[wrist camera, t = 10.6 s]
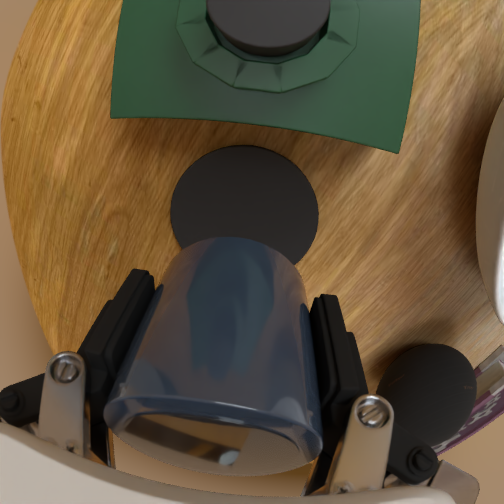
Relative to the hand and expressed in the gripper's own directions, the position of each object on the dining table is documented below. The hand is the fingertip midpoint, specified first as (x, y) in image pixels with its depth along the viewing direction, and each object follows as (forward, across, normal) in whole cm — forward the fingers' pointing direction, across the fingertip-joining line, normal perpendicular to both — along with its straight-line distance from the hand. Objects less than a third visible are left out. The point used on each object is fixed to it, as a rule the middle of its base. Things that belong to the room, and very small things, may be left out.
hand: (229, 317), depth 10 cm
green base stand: (+9, 0, -11) cm, 14 cm away
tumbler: (+1, 0, 0) cm, 1 cm away
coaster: (+9, 0, 0) cm, 9 cm away
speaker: (+9, -18, +12) cm, 23 cm away
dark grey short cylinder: (+4, 0, -11) cm, 12 cm away
